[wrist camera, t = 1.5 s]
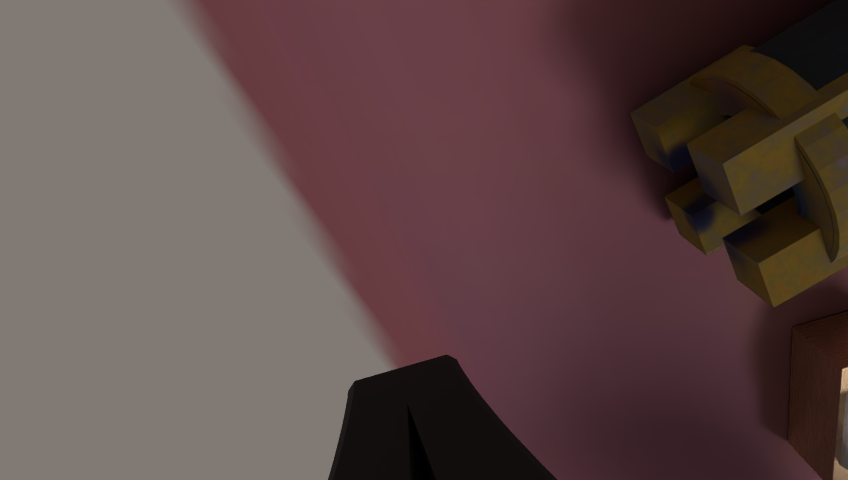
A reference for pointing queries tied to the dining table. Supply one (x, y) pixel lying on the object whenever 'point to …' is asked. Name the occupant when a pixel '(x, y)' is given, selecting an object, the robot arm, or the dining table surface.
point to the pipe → (820, 395)
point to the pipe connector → (763, 155)
